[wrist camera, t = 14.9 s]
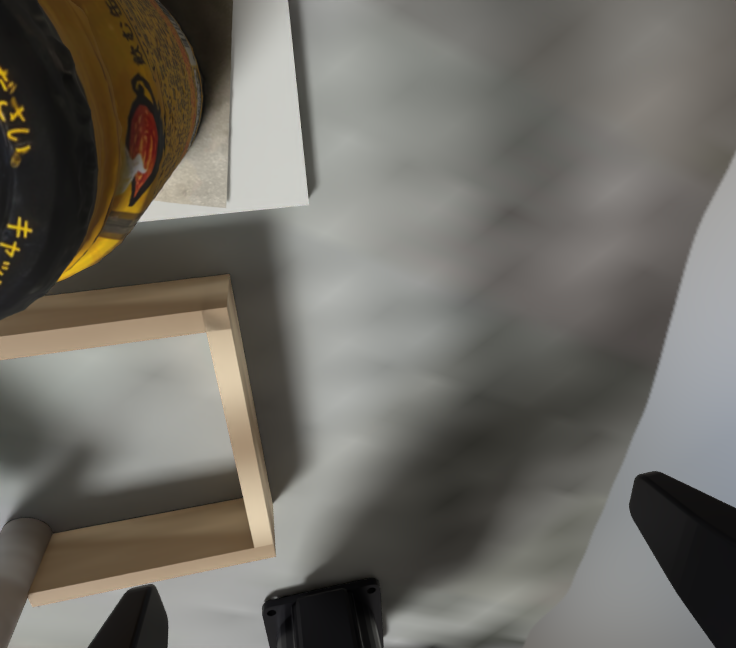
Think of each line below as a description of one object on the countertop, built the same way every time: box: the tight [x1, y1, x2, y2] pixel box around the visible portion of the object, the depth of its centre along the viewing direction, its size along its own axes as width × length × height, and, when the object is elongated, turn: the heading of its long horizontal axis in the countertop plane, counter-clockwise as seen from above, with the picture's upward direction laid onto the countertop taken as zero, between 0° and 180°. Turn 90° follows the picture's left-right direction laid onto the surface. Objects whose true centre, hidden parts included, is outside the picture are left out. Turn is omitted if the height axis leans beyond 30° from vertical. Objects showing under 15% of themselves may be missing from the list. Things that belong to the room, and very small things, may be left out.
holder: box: [0, 274, 276, 648], centre depth 19 cm, size 12×12×6 cm
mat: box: [138, 0, 309, 222], centre depth 15 cm, size 11×11×1 cm
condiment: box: [0, 0, 233, 320], centre depth 10 cm, size 7×8×12 cm
